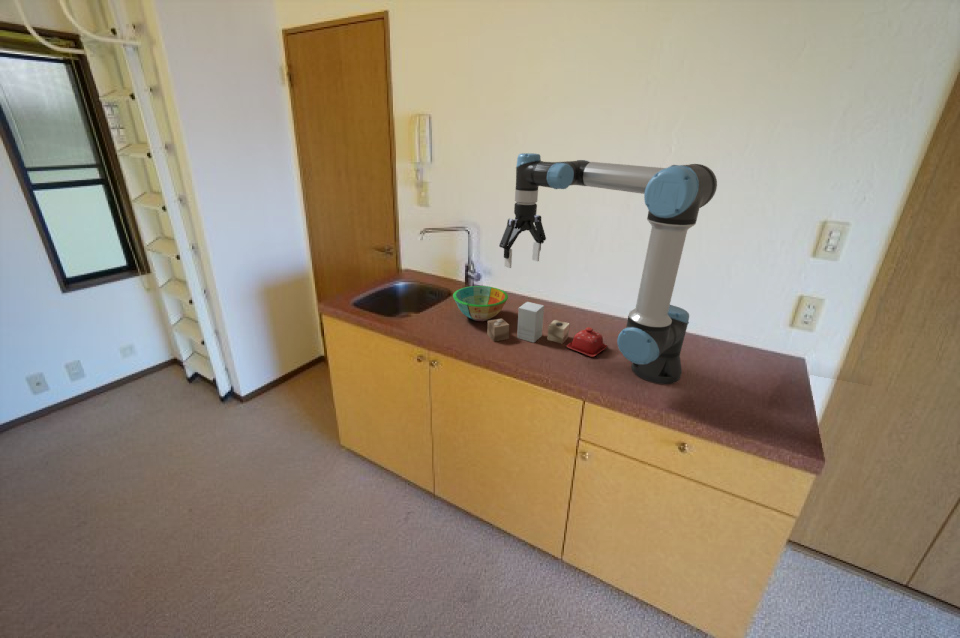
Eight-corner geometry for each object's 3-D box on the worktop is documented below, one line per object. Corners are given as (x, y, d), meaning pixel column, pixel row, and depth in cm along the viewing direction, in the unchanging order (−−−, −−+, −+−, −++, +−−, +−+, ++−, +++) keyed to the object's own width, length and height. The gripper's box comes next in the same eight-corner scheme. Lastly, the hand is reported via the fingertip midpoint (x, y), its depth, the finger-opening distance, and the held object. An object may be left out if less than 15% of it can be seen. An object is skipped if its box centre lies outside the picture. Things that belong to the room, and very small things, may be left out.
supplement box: (542, 335, 160) (545, 305, 155) (533, 343, 154) (536, 312, 149) (525, 330, 164) (527, 300, 158) (516, 338, 158) (518, 307, 153)
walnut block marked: (508, 339, 157) (509, 324, 155) (494, 341, 155) (494, 326, 152) (501, 332, 162) (502, 317, 160) (487, 335, 160) (487, 320, 157)
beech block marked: (567, 337, 159) (569, 323, 157) (562, 343, 155) (564, 328, 152) (553, 333, 162) (554, 319, 159) (547, 339, 157) (548, 324, 155)
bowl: (474, 302, 188) (474, 281, 184) (517, 315, 176) (518, 293, 172) (442, 319, 172) (441, 296, 167) (486, 334, 160) (487, 310, 156)
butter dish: (564, 349, 152) (566, 327, 148) (580, 338, 159) (583, 318, 156) (592, 360, 144) (596, 338, 141) (608, 349, 152) (612, 328, 149)
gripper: (543, 198, 150) (539, 255, 159) (490, 204, 136) (488, 267, 145) (559, 201, 145) (553, 260, 154) (505, 208, 131) (502, 272, 140)
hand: (522, 263), depth 150 cm, fingers open, 13 cm apart
